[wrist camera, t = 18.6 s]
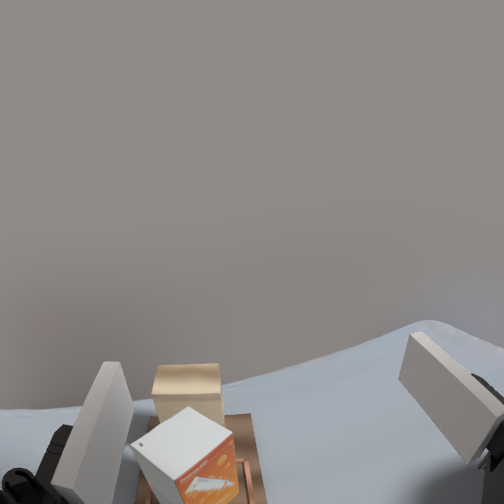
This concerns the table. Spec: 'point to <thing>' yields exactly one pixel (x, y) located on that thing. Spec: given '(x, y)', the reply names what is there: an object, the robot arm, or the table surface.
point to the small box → (189, 460)
